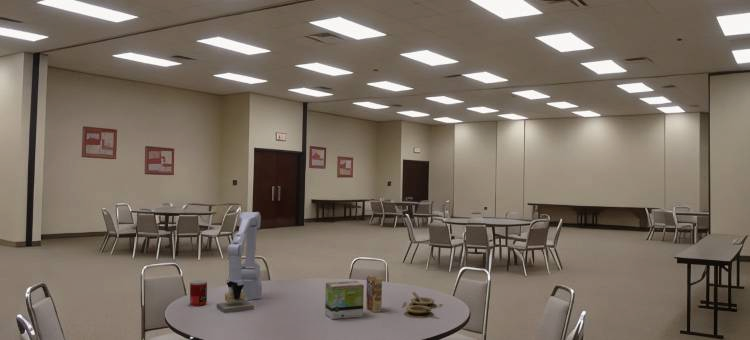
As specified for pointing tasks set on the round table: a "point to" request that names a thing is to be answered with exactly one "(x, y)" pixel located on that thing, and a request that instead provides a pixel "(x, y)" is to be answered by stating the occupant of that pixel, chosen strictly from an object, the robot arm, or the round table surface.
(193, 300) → the canned food
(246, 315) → the round table surface
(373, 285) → the candy box
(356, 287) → the tea box
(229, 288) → the grey block
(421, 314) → the tableware set
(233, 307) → the dock
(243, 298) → the pallet
